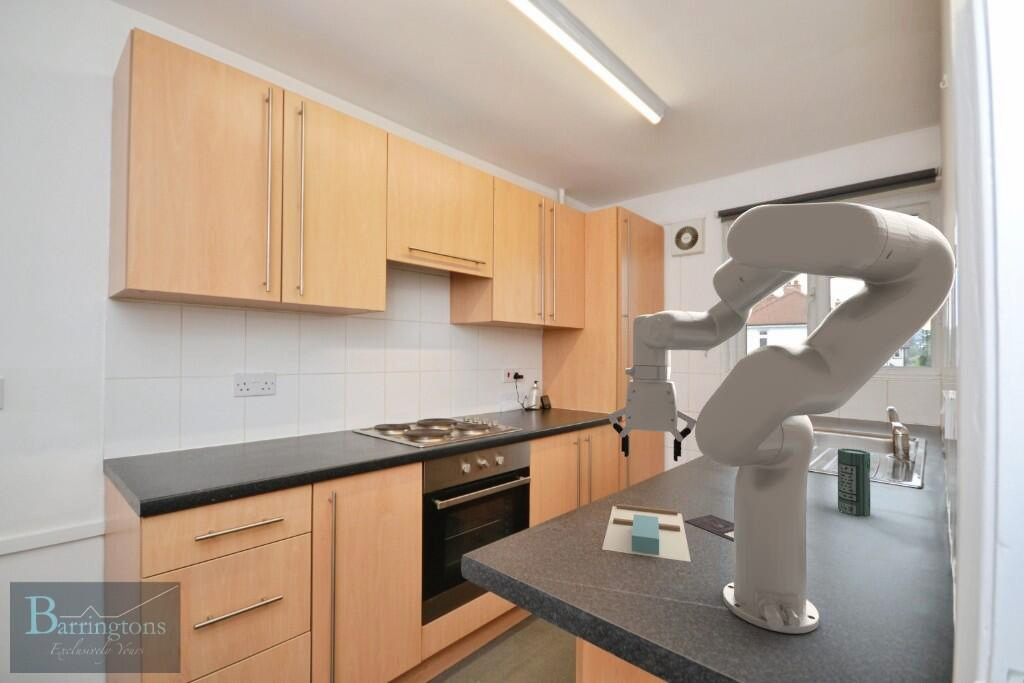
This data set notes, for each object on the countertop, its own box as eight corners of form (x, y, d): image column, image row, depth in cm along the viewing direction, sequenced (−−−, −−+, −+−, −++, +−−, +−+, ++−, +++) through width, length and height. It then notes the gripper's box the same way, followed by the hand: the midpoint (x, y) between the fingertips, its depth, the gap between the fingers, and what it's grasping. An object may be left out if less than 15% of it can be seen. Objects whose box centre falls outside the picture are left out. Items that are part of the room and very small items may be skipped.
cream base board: (690, 563, 82) (690, 557, 82) (601, 551, 87) (602, 545, 87) (681, 515, 107) (681, 510, 107) (612, 507, 112) (612, 502, 112)
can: (875, 514, 110) (875, 452, 110) (859, 517, 107) (859, 454, 108) (848, 506, 115) (848, 447, 116) (833, 509, 113) (832, 449, 113)
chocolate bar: (710, 514, 107) (788, 543, 91) (710, 518, 107) (788, 548, 91) (684, 520, 102) (761, 552, 87) (684, 525, 102) (761, 557, 87)
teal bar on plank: (659, 554, 85) (659, 538, 85) (631, 551, 86) (631, 535, 86) (658, 531, 96) (658, 517, 96) (633, 528, 98) (633, 514, 98)
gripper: (606, 374, 93) (605, 457, 92) (697, 376, 87) (697, 466, 87) (610, 372, 100) (610, 450, 99) (695, 375, 94) (694, 457, 94)
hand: (650, 457), depth 93 cm, fingers open, 9 cm apart
